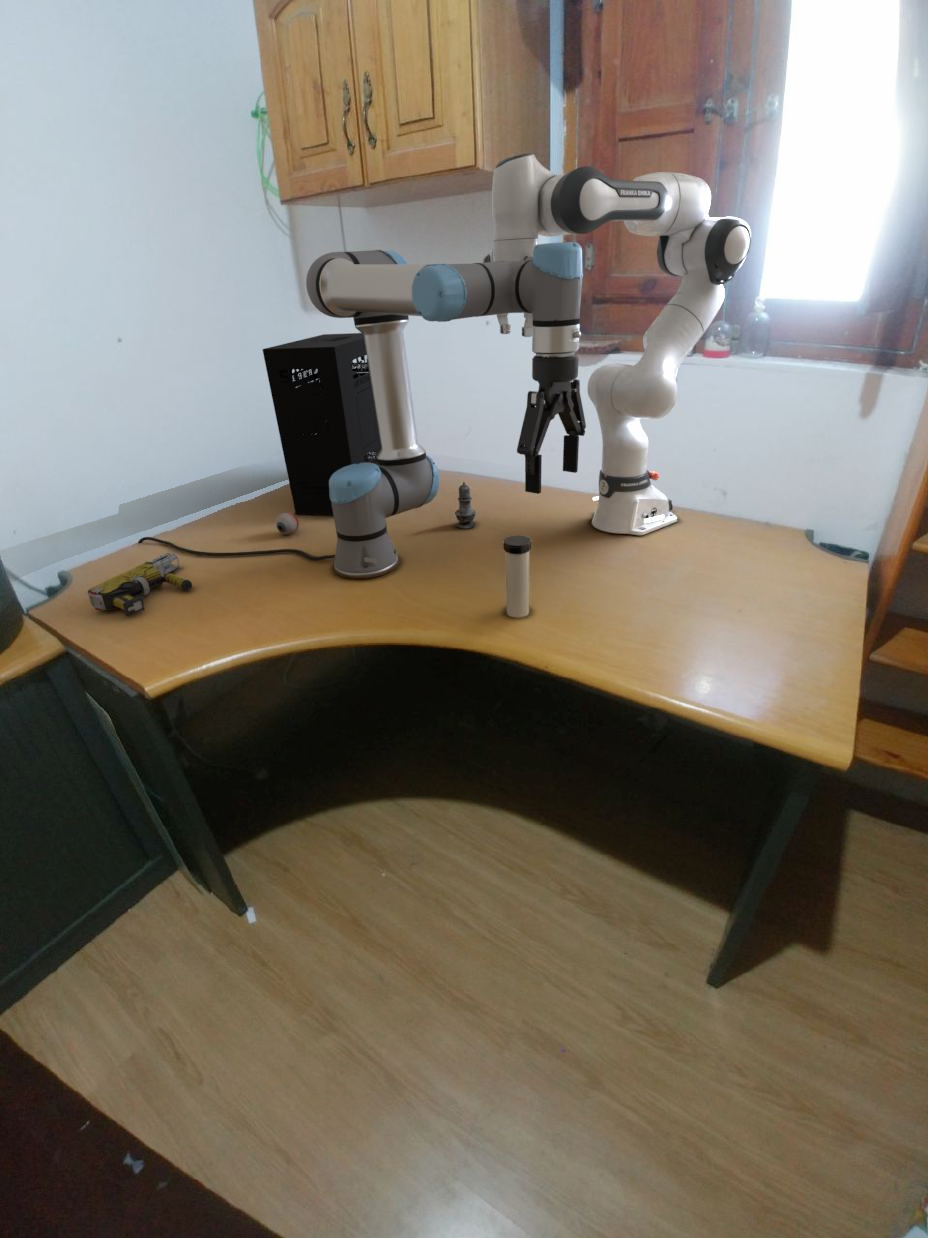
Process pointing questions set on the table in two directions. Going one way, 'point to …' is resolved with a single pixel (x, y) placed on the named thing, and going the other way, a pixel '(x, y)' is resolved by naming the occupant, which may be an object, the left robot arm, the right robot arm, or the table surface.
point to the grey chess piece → (465, 508)
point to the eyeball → (287, 523)
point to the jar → (517, 584)
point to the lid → (517, 544)
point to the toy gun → (136, 585)
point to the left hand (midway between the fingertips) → (552, 481)
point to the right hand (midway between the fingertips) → (516, 335)
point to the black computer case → (322, 413)
